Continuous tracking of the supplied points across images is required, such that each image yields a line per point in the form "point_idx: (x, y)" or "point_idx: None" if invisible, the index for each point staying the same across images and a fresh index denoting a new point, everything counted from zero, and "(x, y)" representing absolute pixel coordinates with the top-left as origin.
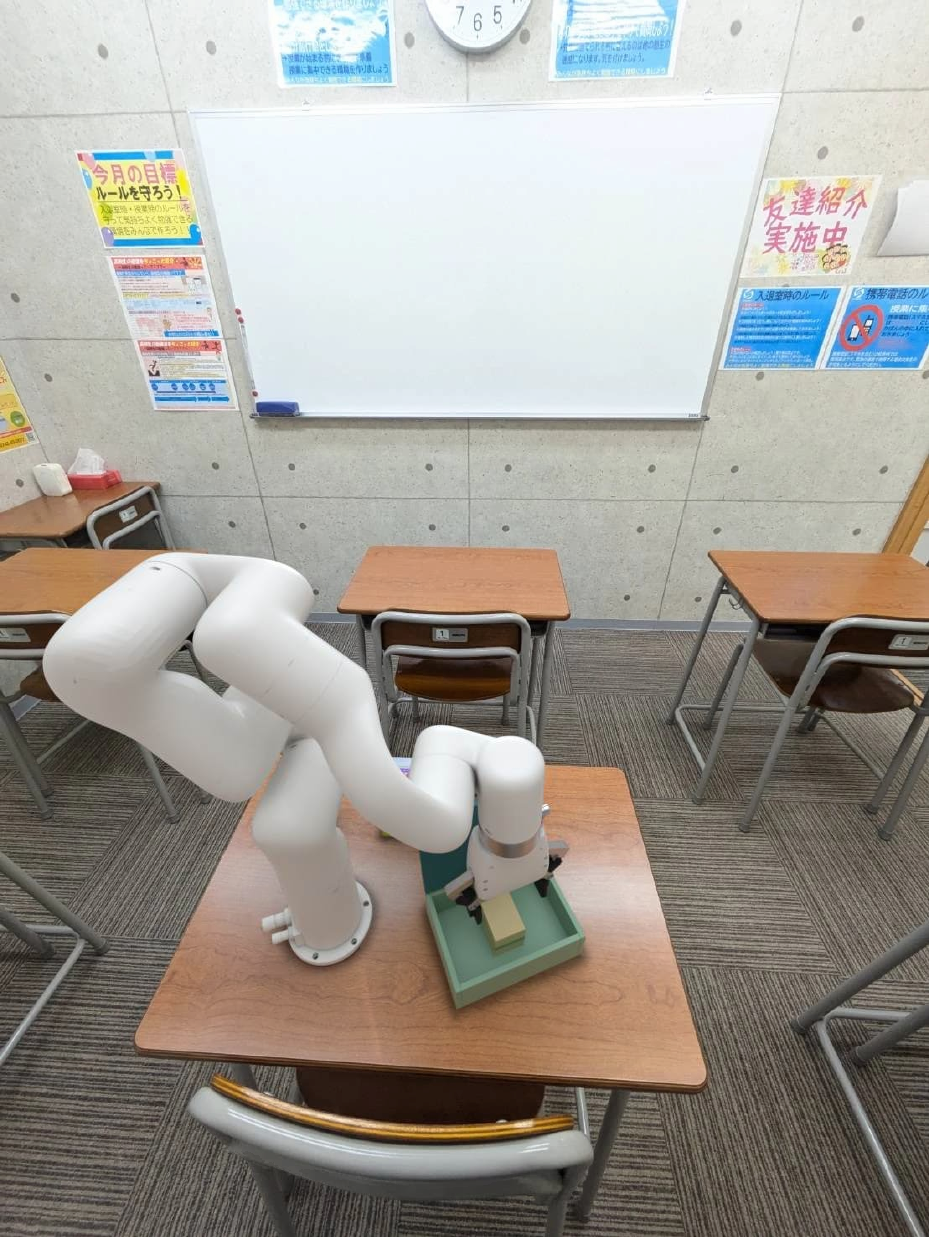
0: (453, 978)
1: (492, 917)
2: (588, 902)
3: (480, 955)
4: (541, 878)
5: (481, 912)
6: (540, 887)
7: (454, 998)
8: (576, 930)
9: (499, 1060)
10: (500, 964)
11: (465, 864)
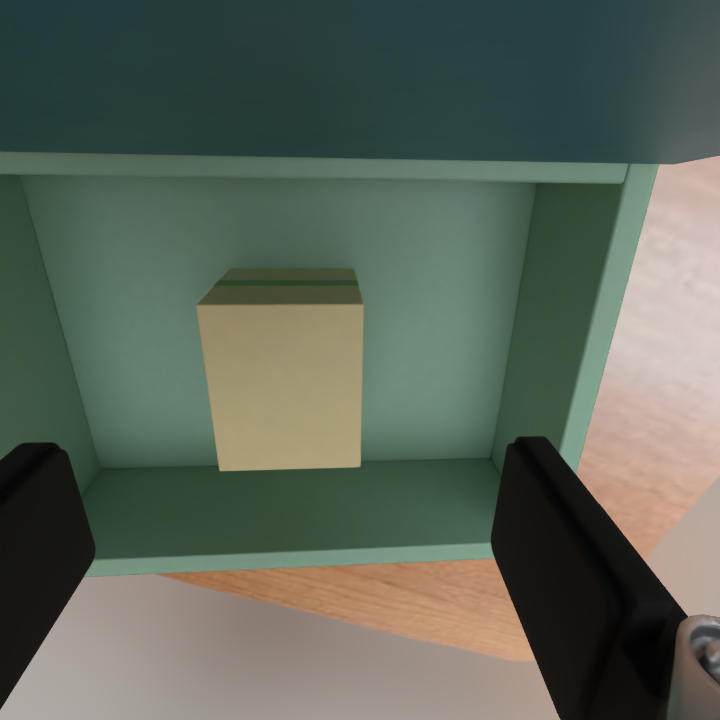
0: None
1: (235, 388)
2: (631, 339)
3: (195, 383)
4: (586, 711)
5: (14, 681)
6: (525, 608)
7: None
8: None
9: (189, 572)
10: None
11: (28, 119)
